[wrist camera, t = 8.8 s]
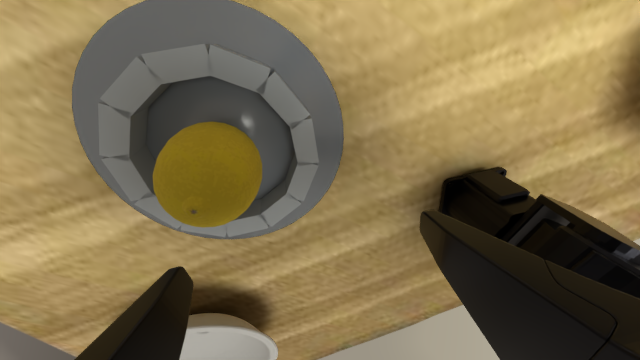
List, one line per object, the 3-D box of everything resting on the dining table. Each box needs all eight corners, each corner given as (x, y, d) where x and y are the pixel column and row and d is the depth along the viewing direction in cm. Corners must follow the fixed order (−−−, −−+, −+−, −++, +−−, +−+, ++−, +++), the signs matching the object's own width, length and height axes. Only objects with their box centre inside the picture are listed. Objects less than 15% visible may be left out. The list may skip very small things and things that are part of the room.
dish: (251, 261, 25) (246, 307, 20) (292, 328, 32) (295, 371, 28) (87, 312, 24) (47, 369, 20) (168, 367, 32) (151, 417, 27)
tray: (349, 209, 23) (358, 230, 21) (164, 251, 22) (149, 278, 19) (326, -25, 14) (337, -41, 11) (2, 23, 13) (-68, 18, 10)
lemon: (273, 123, 17) (272, 175, 10) (254, 186, 19) (242, 264, 12) (190, 96, 15) (120, 136, 8) (180, 169, 17) (118, 248, 11)
